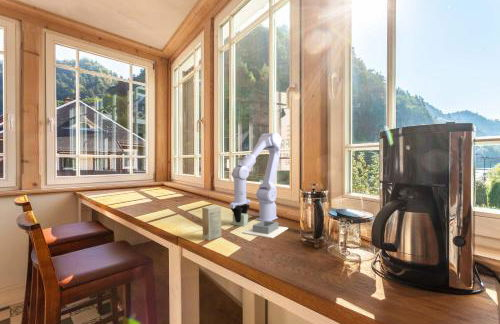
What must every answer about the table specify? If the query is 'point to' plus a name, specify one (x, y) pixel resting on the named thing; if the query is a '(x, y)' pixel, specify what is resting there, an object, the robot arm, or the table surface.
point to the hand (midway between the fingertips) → (240, 221)
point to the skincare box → (211, 222)
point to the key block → (243, 220)
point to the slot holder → (266, 229)
